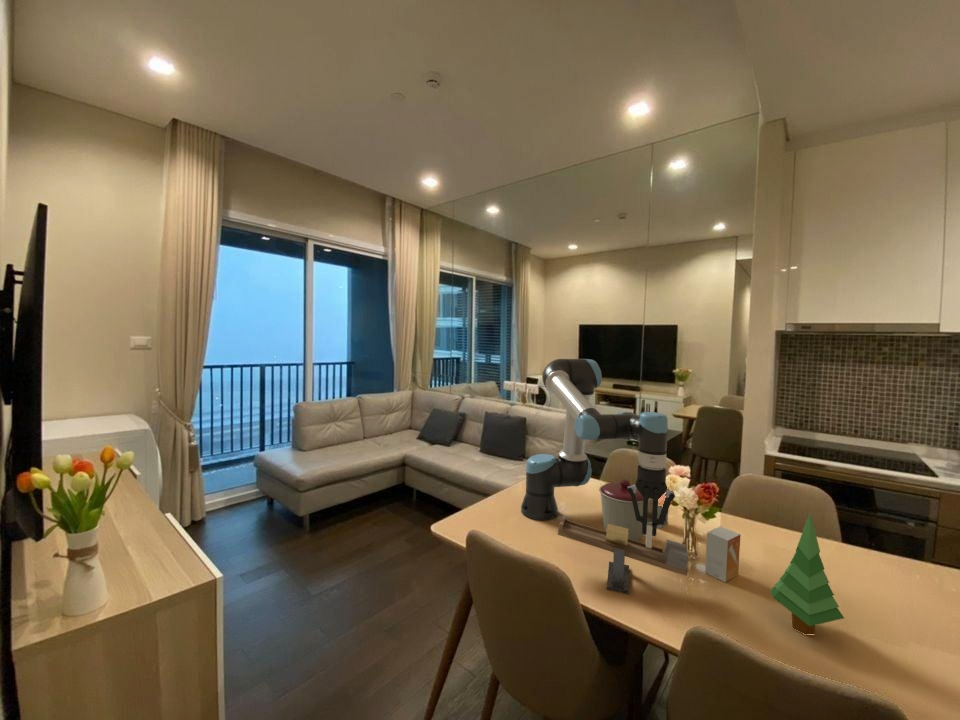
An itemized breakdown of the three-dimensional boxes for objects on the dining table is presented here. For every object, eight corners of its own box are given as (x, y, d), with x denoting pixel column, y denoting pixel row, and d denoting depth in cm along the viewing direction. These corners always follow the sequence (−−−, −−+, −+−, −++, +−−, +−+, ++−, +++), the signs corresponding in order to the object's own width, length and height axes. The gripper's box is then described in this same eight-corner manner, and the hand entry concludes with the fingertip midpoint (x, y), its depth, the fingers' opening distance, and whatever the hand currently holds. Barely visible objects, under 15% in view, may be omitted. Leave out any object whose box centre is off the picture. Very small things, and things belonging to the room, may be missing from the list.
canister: (634, 554, 135) (636, 492, 134) (587, 534, 148) (589, 478, 147) (658, 537, 146) (661, 481, 145) (613, 520, 160) (615, 468, 159)
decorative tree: (753, 609, 107) (759, 500, 106) (813, 612, 107) (819, 502, 106) (791, 648, 94) (798, 523, 92) (859, 651, 93) (868, 525, 92)
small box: (726, 583, 119) (728, 540, 119) (704, 572, 125) (706, 531, 124) (739, 575, 124) (741, 533, 123) (717, 565, 129) (719, 525, 128)
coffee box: (638, 520, 160) (639, 481, 160) (647, 516, 164) (648, 478, 163) (659, 529, 153) (661, 488, 152) (668, 525, 156) (670, 485, 156)
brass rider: (606, 536, 123) (607, 523, 123) (626, 541, 121) (628, 528, 121) (605, 542, 119) (606, 529, 119) (626, 548, 117) (628, 535, 117)
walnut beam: (561, 525, 130) (564, 508, 129) (683, 563, 118) (686, 544, 117) (557, 536, 122) (560, 518, 122) (686, 577, 110) (690, 558, 110)
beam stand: (609, 564, 128) (610, 529, 127) (629, 568, 126) (630, 532, 125) (606, 589, 115) (608, 550, 114) (629, 594, 113) (630, 554, 112)
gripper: (627, 467, 115) (624, 547, 116) (678, 473, 110) (674, 556, 111) (627, 459, 122) (625, 535, 123) (675, 465, 117) (671, 543, 118)
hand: (648, 545), depth 117 cm, fingers closed
